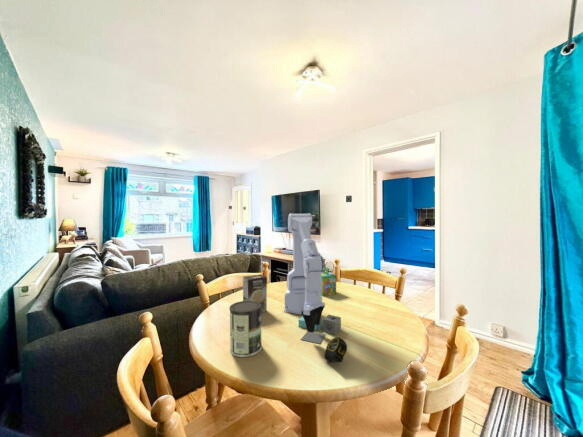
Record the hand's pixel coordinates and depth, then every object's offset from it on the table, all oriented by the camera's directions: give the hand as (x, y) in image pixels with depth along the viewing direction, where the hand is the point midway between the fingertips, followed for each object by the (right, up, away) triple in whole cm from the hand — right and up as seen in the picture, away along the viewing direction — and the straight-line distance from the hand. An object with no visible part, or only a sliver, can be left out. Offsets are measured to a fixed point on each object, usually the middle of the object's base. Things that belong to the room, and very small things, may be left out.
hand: (313, 327), depth 87 cm
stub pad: (0, -4, 0) cm, 4 cm away
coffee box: (-24, -4, +24) cm, 34 cm away
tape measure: (+5, -4, -15) cm, 16 cm away
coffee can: (-23, -4, -7) cm, 24 cm away
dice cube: (+7, -4, +5) cm, 10 cm away
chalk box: (+11, -3, +47) cm, 49 cm away
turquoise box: (-1, -4, +9) cm, 9 cm away
